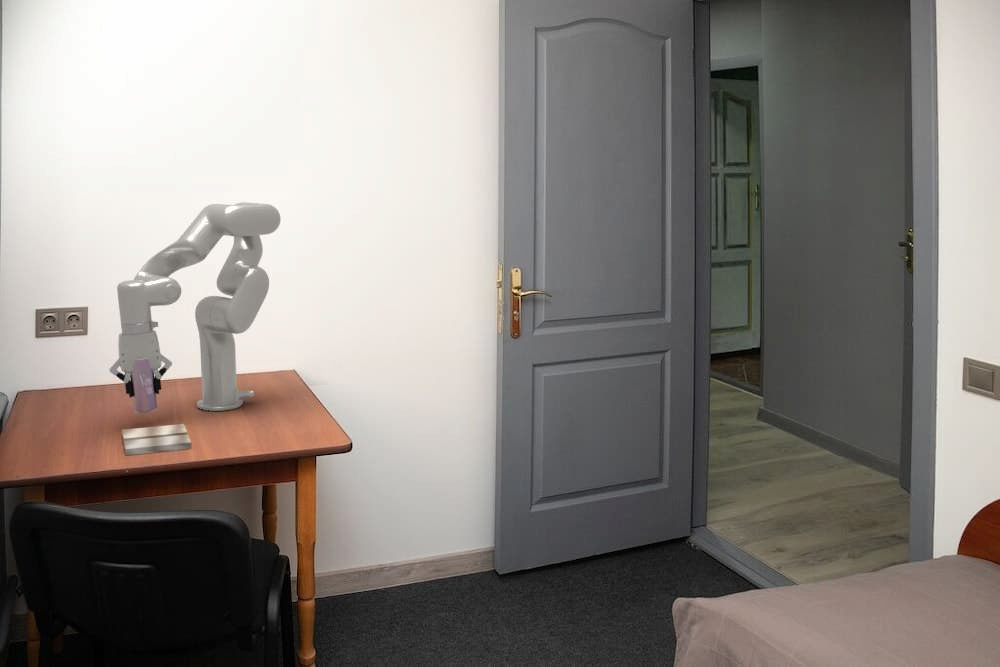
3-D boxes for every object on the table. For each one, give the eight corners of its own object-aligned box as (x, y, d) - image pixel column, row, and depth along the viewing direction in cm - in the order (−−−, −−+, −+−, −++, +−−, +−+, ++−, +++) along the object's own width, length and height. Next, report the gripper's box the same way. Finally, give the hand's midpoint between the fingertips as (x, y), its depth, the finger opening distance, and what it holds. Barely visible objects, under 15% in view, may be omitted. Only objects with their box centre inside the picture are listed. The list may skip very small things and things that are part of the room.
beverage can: (153, 405, 253) (147, 351, 249) (161, 410, 248) (155, 356, 245) (130, 410, 249) (124, 355, 246) (138, 415, 245) (132, 360, 241)
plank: (183, 429, 246) (183, 423, 245) (187, 438, 238) (187, 432, 238) (122, 435, 239) (122, 429, 239) (124, 444, 232) (123, 438, 232)
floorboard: (187, 439, 237) (187, 433, 237) (191, 448, 230) (191, 442, 230) (124, 445, 231) (123, 439, 231) (125, 455, 224) (125, 449, 224)
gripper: (170, 321, 250) (176, 386, 254) (100, 328, 243) (108, 395, 247) (173, 327, 243) (179, 393, 248) (101, 334, 237) (109, 402, 241)
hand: (144, 393), depth 248 cm, fingers closed on beverage can, 6 cm apart
